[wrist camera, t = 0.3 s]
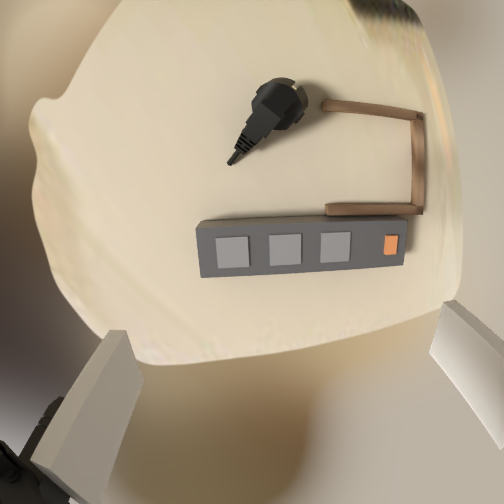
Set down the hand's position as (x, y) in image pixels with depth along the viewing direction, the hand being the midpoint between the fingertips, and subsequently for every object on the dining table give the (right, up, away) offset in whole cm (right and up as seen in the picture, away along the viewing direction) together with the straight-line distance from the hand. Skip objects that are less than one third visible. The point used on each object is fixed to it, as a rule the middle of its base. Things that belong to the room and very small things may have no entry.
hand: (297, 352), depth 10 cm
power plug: (-3, +16, +25) cm, 30 cm away
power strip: (+5, +5, +26) cm, 27 cm away
